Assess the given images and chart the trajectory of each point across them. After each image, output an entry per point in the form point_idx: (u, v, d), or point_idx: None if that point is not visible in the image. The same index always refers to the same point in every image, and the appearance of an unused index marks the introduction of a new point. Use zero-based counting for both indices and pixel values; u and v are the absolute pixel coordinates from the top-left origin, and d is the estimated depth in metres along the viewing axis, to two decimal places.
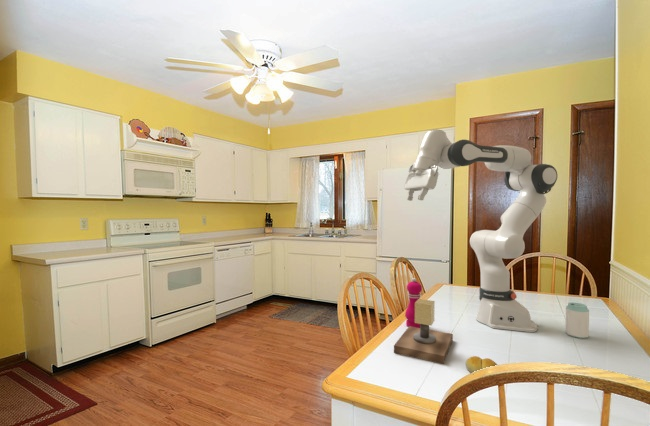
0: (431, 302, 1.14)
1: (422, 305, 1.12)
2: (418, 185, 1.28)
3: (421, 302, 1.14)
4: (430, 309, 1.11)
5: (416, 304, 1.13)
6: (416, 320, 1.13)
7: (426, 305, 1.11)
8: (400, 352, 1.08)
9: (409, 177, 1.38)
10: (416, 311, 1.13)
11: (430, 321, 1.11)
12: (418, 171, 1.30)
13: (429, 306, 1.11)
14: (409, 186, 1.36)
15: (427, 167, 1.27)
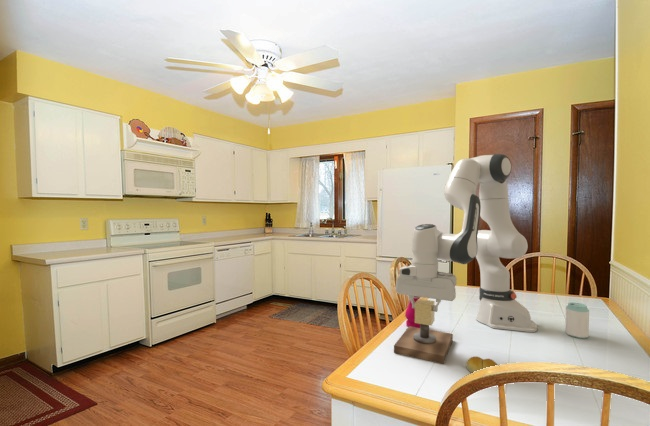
0: (431, 302, 1.14)
1: (422, 305, 1.12)
2: (432, 296, 1.11)
3: (421, 302, 1.14)
4: (430, 309, 1.11)
5: (416, 304, 1.13)
6: (416, 320, 1.13)
7: (426, 305, 1.11)
8: (400, 352, 1.08)
9: (402, 280, 1.16)
10: (416, 311, 1.13)
11: (430, 321, 1.11)
12: (427, 280, 1.11)
13: (429, 306, 1.11)
14: (409, 293, 1.15)
15: (436, 274, 1.11)
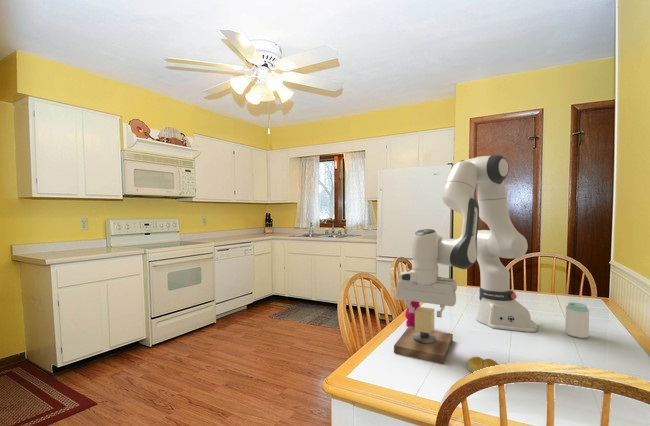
0: (431, 310, 1.14)
1: (422, 313, 1.12)
2: (433, 301, 1.11)
3: (421, 310, 1.14)
4: (430, 317, 1.11)
5: (416, 312, 1.13)
6: (416, 328, 1.13)
7: (426, 313, 1.11)
8: (400, 352, 1.08)
9: (402, 286, 1.16)
10: (416, 319, 1.13)
11: (430, 329, 1.11)
12: (427, 285, 1.11)
13: (429, 314, 1.11)
14: (410, 298, 1.15)
15: (437, 279, 1.11)
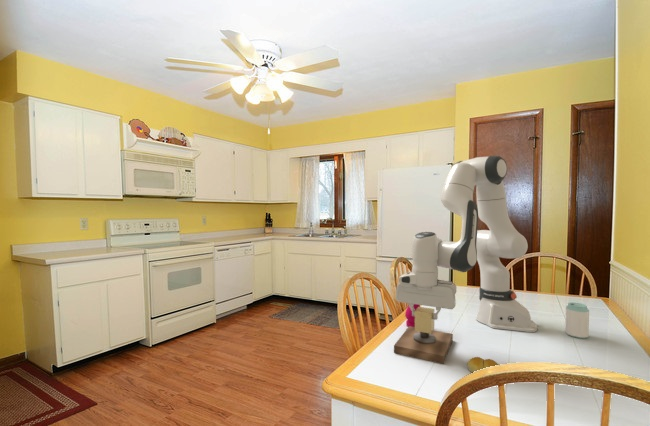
0: (431, 310, 1.14)
1: (422, 313, 1.12)
2: (432, 304, 1.11)
3: (421, 310, 1.14)
4: (430, 317, 1.11)
5: (416, 312, 1.13)
6: (416, 328, 1.13)
7: (426, 313, 1.11)
8: (400, 352, 1.08)
9: (402, 288, 1.16)
10: (416, 319, 1.13)
11: (430, 329, 1.11)
12: (427, 288, 1.11)
13: (429, 314, 1.11)
14: (409, 301, 1.15)
15: (436, 282, 1.11)
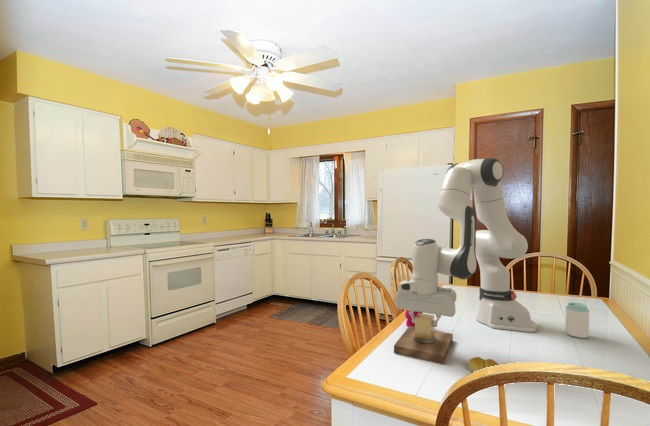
0: (431, 316, 1.14)
1: (422, 320, 1.12)
2: (432, 312, 1.11)
3: (421, 316, 1.14)
4: (430, 324, 1.11)
5: (416, 318, 1.13)
6: (416, 334, 1.13)
7: (426, 320, 1.11)
8: (400, 352, 1.08)
9: (402, 295, 1.16)
10: (416, 325, 1.13)
11: (430, 336, 1.11)
12: (427, 295, 1.11)
13: (429, 321, 1.11)
14: (409, 308, 1.15)
15: (436, 289, 1.11)
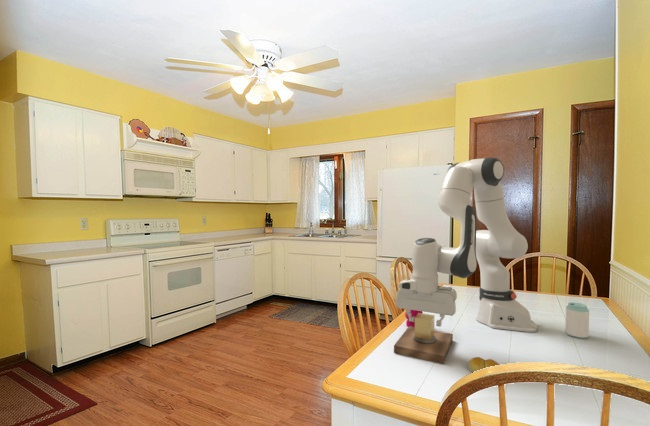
0: (431, 316, 1.14)
1: (422, 320, 1.12)
2: (433, 311, 1.11)
3: (421, 316, 1.14)
4: (430, 324, 1.11)
5: (416, 319, 1.13)
6: (416, 334, 1.13)
7: (426, 320, 1.11)
8: (400, 352, 1.08)
9: (402, 294, 1.16)
10: (416, 326, 1.13)
11: (430, 336, 1.11)
12: (427, 294, 1.11)
13: (429, 321, 1.11)
14: (409, 307, 1.15)
15: (437, 288, 1.11)
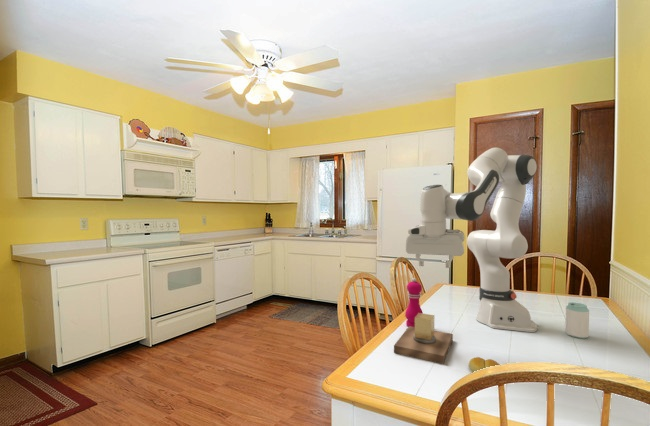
0: (431, 316, 1.14)
1: (422, 320, 1.12)
2: (442, 253, 1.16)
3: (421, 316, 1.14)
4: (430, 324, 1.11)
5: (416, 319, 1.13)
6: (416, 334, 1.13)
7: (426, 320, 1.11)
8: (400, 352, 1.08)
9: (411, 240, 1.21)
10: (416, 326, 1.13)
11: (430, 336, 1.11)
12: (436, 237, 1.16)
13: (429, 321, 1.11)
14: (419, 252, 1.20)
15: (445, 231, 1.16)
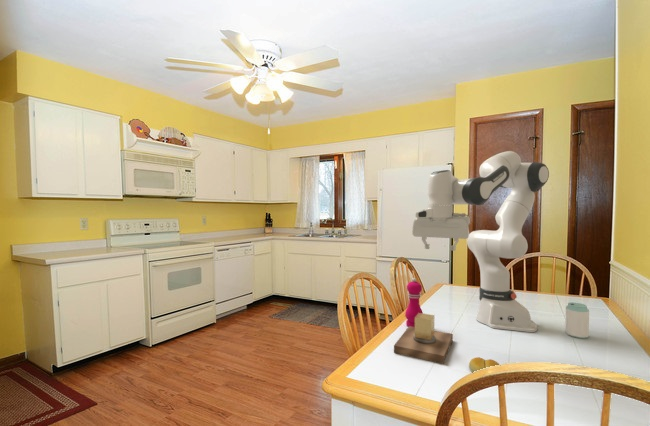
0: (431, 316, 1.14)
1: (422, 320, 1.12)
2: (447, 235, 1.20)
3: (421, 316, 1.14)
4: (430, 324, 1.11)
5: (416, 319, 1.13)
6: (416, 334, 1.13)
7: (426, 320, 1.11)
8: (400, 352, 1.08)
9: (418, 223, 1.25)
10: (416, 326, 1.13)
11: (430, 336, 1.11)
12: (442, 220, 1.19)
13: (429, 321, 1.11)
14: (425, 234, 1.23)
15: (451, 215, 1.20)
